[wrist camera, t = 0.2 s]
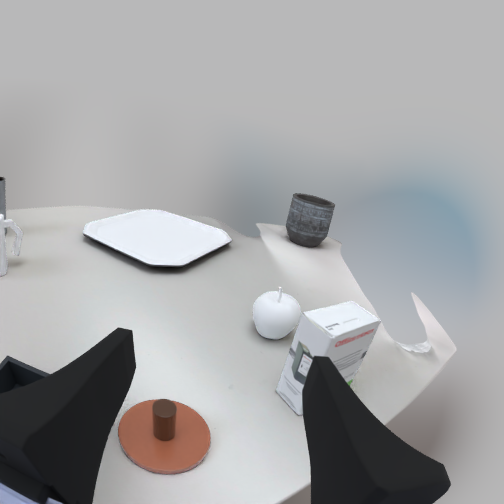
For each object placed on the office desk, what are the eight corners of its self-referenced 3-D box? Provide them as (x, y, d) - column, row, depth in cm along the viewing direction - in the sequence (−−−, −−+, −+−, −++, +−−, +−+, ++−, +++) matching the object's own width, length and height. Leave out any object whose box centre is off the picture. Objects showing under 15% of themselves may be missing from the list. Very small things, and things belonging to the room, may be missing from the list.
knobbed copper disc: (204, 483, 23) (209, 459, 21) (107, 458, 22) (99, 431, 21) (214, 413, 31) (220, 384, 29) (133, 395, 31) (131, 364, 29)
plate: (167, 282, 55) (168, 271, 55) (71, 235, 65) (71, 226, 64) (239, 243, 81) (240, 235, 80) (151, 213, 90) (152, 206, 89)
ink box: (323, 371, 41) (352, 297, 37) (347, 393, 37) (383, 318, 33) (273, 390, 36) (300, 309, 32) (298, 417, 32) (334, 337, 28)
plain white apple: (238, 325, 48) (248, 278, 45) (272, 315, 52) (284, 272, 49) (268, 352, 43) (282, 303, 40) (302, 338, 48) (317, 293, 45)
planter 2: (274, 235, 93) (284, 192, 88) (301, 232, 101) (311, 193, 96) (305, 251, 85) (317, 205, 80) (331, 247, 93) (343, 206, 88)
